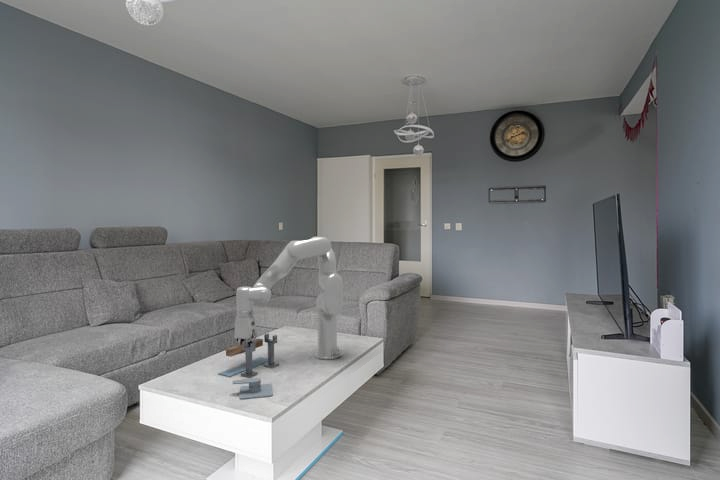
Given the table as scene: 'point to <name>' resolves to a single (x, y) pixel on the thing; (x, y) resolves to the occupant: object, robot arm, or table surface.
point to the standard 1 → (248, 359)
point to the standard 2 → (270, 351)
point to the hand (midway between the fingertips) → (245, 353)
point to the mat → (243, 367)
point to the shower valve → (254, 389)
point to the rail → (238, 349)
